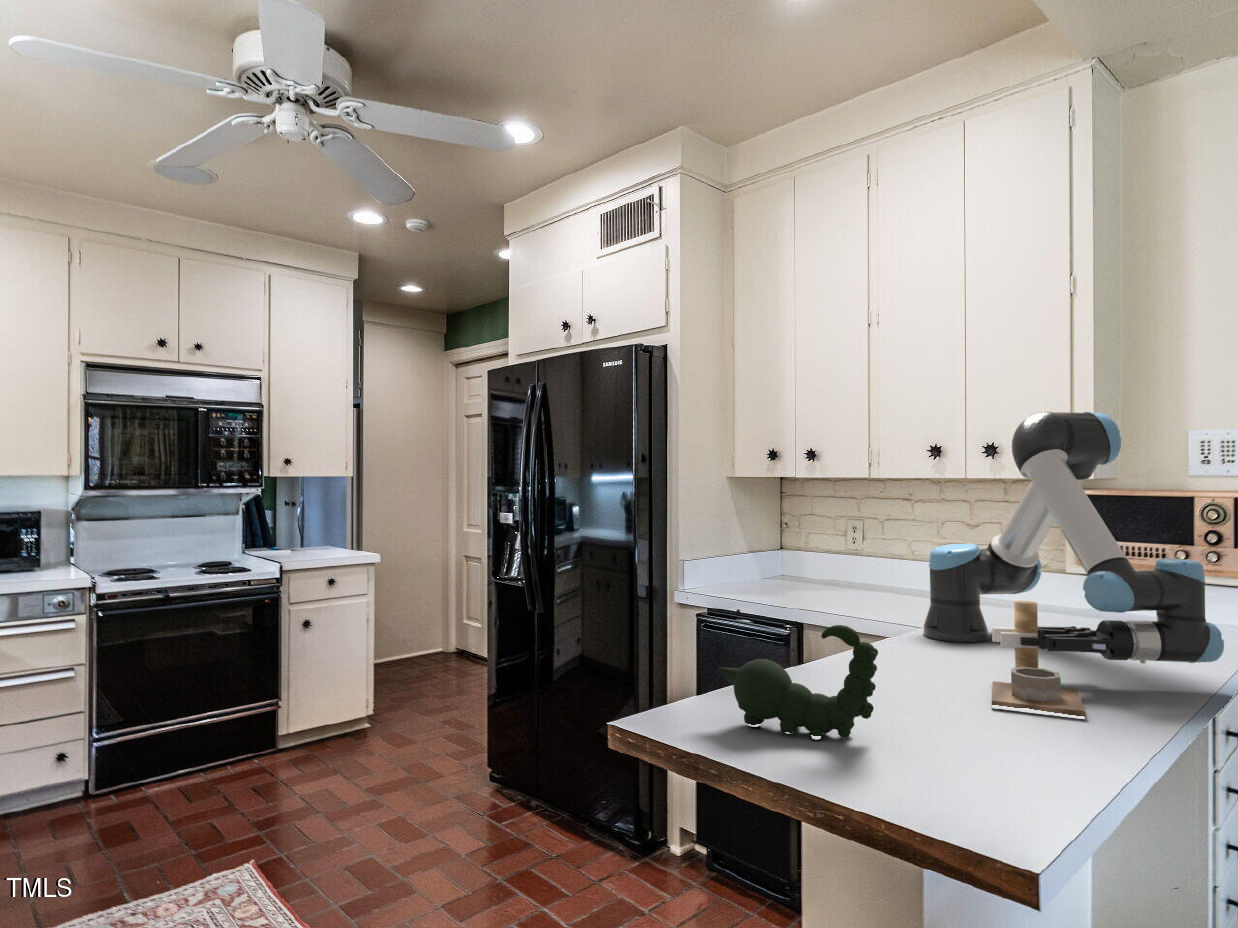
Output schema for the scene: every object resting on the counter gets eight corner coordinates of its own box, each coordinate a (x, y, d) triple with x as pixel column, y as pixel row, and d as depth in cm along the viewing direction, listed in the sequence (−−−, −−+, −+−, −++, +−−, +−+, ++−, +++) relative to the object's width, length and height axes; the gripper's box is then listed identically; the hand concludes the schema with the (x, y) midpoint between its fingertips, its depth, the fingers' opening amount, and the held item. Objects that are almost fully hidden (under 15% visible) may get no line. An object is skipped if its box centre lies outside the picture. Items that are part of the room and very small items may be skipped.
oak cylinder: (1015, 685, 146) (1014, 603, 147) (1015, 680, 150) (1014, 600, 150) (1039, 687, 144) (1037, 604, 145) (1038, 682, 148) (1036, 601, 148)
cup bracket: (991, 708, 131) (991, 677, 131) (992, 688, 144) (992, 660, 144) (1085, 720, 125) (1084, 687, 125) (1077, 698, 137) (1077, 668, 137)
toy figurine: (872, 743, 119) (722, 709, 130) (882, 625, 119) (731, 601, 130) (865, 763, 111) (705, 726, 121) (876, 637, 110) (714, 610, 121)
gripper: (1150, 671, 136) (1013, 666, 140) (1104, 649, 153) (983, 646, 157) (1149, 629, 136) (1012, 626, 140) (1104, 613, 153) (982, 610, 157)
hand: (997, 637), depth 148 cm, fingers open, 4 cm apart
